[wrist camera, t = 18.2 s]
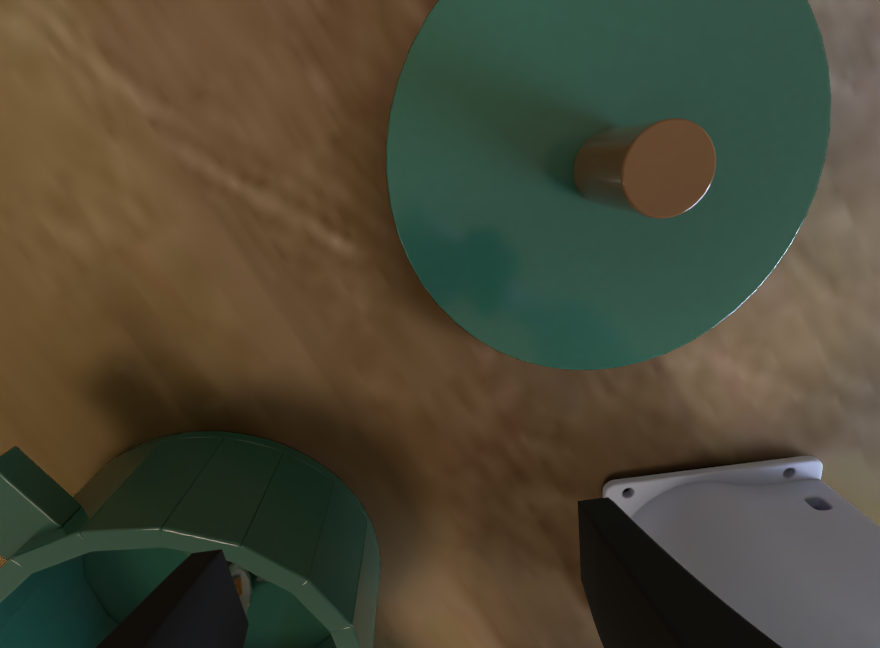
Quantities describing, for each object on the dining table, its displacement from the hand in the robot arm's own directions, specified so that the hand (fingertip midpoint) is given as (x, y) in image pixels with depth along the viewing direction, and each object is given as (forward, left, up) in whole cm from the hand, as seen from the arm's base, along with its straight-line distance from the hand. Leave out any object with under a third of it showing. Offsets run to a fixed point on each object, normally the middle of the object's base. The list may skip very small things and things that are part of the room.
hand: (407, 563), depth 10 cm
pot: (+10, +8, -10) cm, 16 cm away
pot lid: (-7, -7, -9) cm, 14 cm away
